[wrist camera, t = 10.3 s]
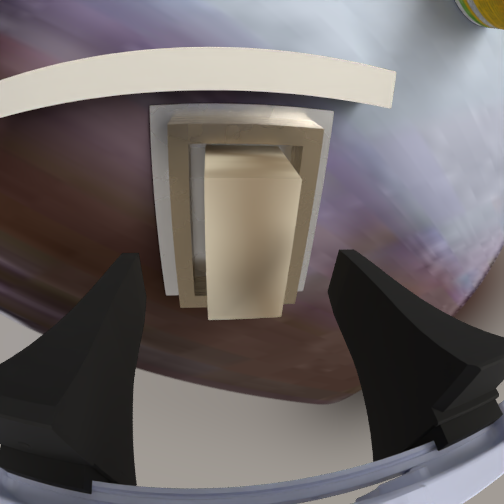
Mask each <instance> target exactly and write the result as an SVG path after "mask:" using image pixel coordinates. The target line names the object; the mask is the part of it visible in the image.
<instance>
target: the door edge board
mask: <svg viewBox="0 0 504 504" xmlns="http://www.w3.org/2000/svg"><path fill="white" fill-rule="evenodd" d="M395 79H396V72H395V71H391V70H387V69H383V68H379V67H375V66H371V65H366V64H362V63H357V62H352V61H347V60H342V59H337V58H331V57H325V56H319V55H312V54H305V53H298V52H289V51H280V50H269V49H255V48H235V47H183V48H164V49H150V50H140V51H130V52H122V53H115V54H108V55H101V56H95V57H89V58H84V59H79V60H74V61H69V62H64V63H60V64H56V65H51V66H47V67H43V68H40V69H36V70H32V71H29V72H25V73H22V74H19V75H15V76H12V77H9V78H6V79H3V80H0V118H2V117H5V116H9V115H13V114H17V113H20V112H25V111H29V110H33V109H38V108H42V107H47V106H52V105H57V104H62V103H68V102H73V101H79V100H86V99H92V98H100V97H107V96H116V95H125V94H135V93H147V92H163V91H186V90H237V91H261V92H276V93H289V94H299V95H309V96H317V97H325V98H333V99H340V100H346V101H353V102H359V103H364V104H370V105H375V106H380V107H385V108H390V109H391V106H392V99H393V93H394V86H395Z"/></svg>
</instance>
